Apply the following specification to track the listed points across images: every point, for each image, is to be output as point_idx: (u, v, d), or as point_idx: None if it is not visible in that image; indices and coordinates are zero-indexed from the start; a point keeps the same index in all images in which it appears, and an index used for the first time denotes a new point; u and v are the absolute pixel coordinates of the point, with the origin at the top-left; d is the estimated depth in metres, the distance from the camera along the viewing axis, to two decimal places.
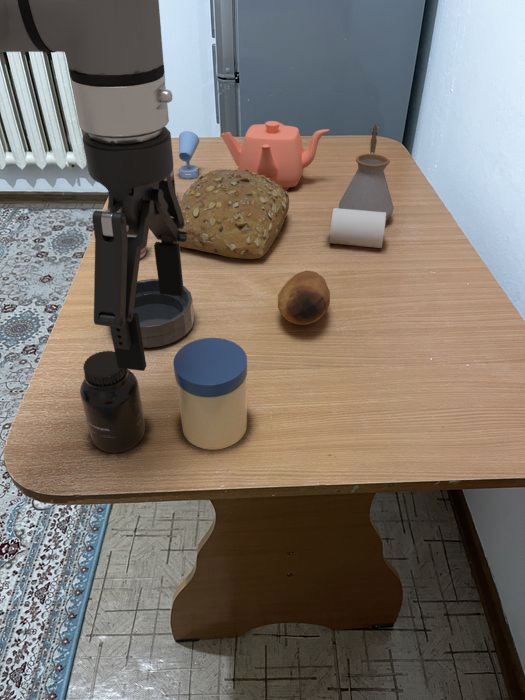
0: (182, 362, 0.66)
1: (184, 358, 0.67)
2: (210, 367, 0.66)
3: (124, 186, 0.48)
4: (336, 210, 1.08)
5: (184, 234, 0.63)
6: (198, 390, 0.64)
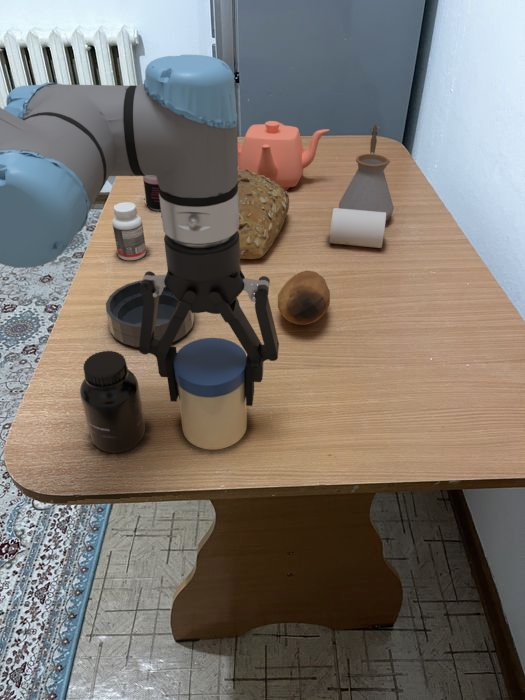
0: (182, 362, 0.66)
1: (184, 358, 0.67)
2: (210, 367, 0.66)
3: None
4: (336, 210, 1.08)
5: (258, 363, 0.64)
6: (198, 390, 0.64)
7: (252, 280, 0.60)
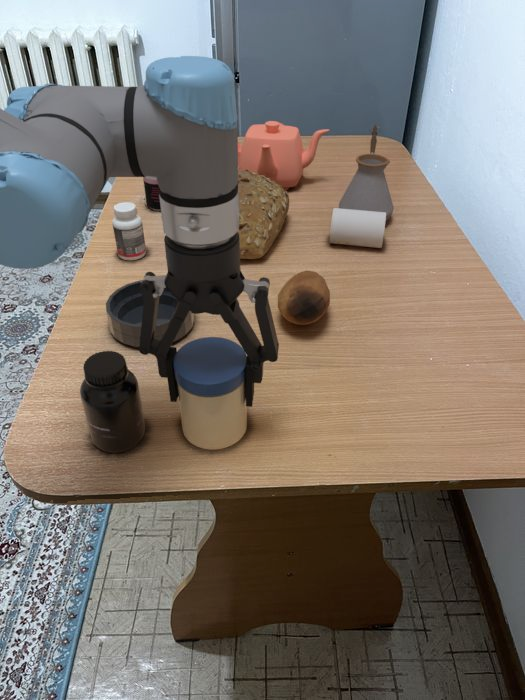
0: (213, 377, 0.64)
1: (206, 376, 0.64)
2: (221, 358, 0.67)
3: None
4: (336, 210, 1.08)
5: (258, 364, 0.64)
6: None
7: (252, 281, 0.60)
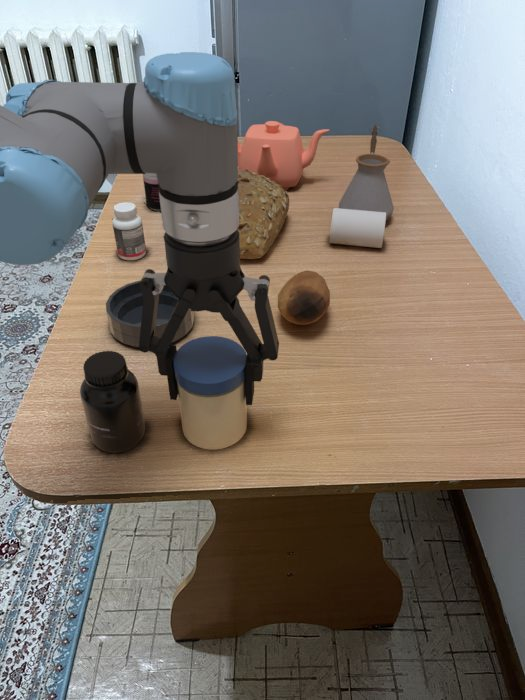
0: (237, 354, 0.67)
1: (236, 358, 0.67)
2: (208, 351, 0.67)
3: None
4: (336, 210, 1.08)
5: (258, 362, 0.64)
6: None
7: (252, 279, 0.59)
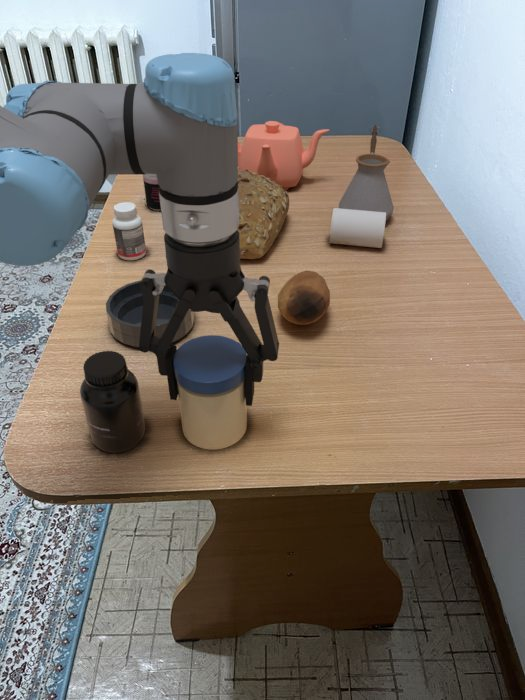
0: (203, 341, 0.69)
1: (210, 341, 0.69)
2: (199, 359, 0.66)
3: None
4: (336, 210, 1.08)
5: (258, 363, 0.64)
6: None
7: (252, 280, 0.59)
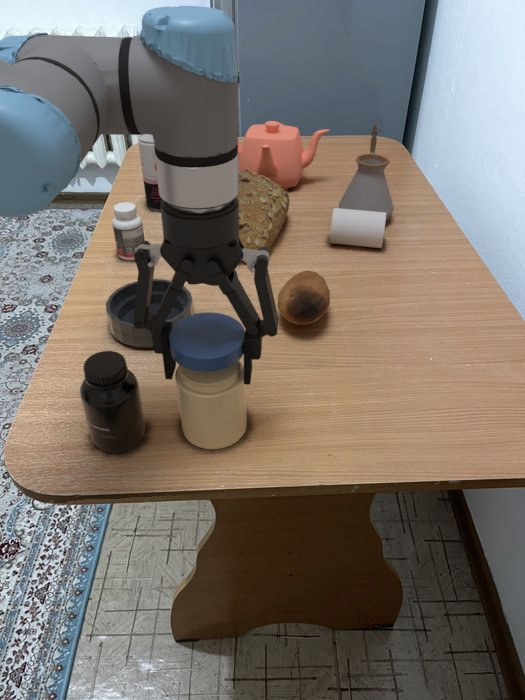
0: (214, 351, 0.62)
1: (207, 351, 0.62)
2: (218, 332, 0.65)
3: None
4: (336, 210, 1.08)
5: None
6: None
7: (152, 247, 0.57)
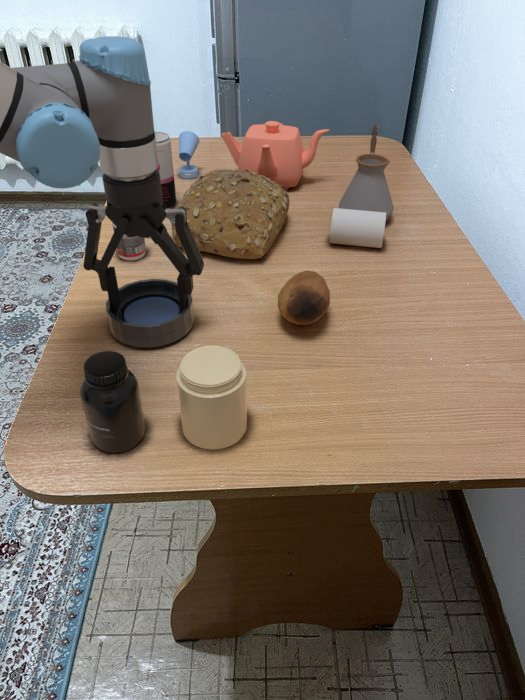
0: (155, 323, 0.87)
1: (150, 323, 0.87)
2: (159, 310, 0.89)
3: None
4: (336, 210, 1.08)
5: None
6: None
7: (100, 208, 0.78)
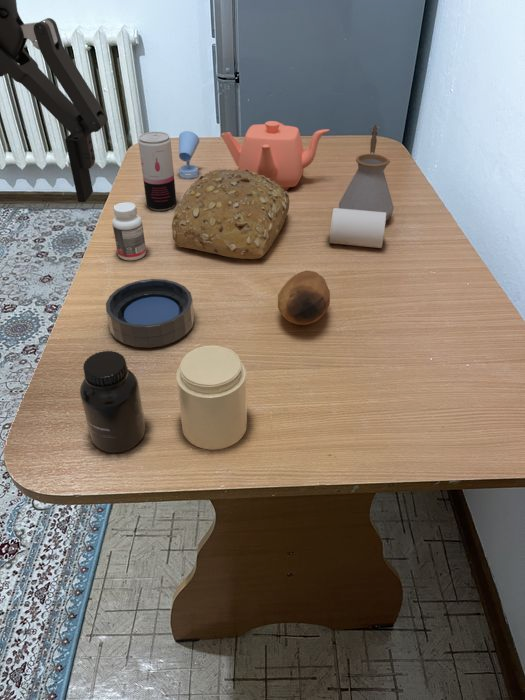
0: (155, 323, 0.87)
1: (150, 323, 0.87)
2: (159, 310, 0.89)
3: (15, 2, 0.50)
4: (336, 210, 1.08)
5: None
6: None
7: None
